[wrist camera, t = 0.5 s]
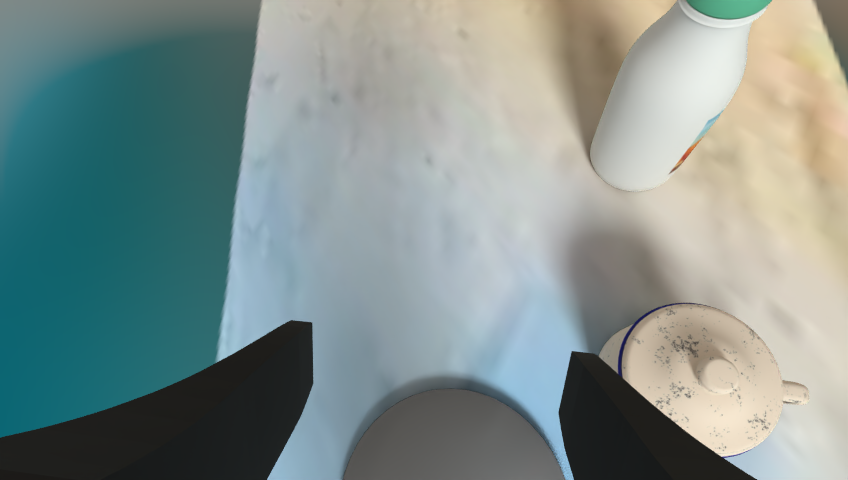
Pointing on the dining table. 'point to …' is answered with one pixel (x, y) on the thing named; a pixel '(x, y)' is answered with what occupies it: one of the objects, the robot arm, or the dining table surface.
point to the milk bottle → (672, 90)
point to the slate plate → (452, 442)
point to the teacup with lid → (704, 374)
